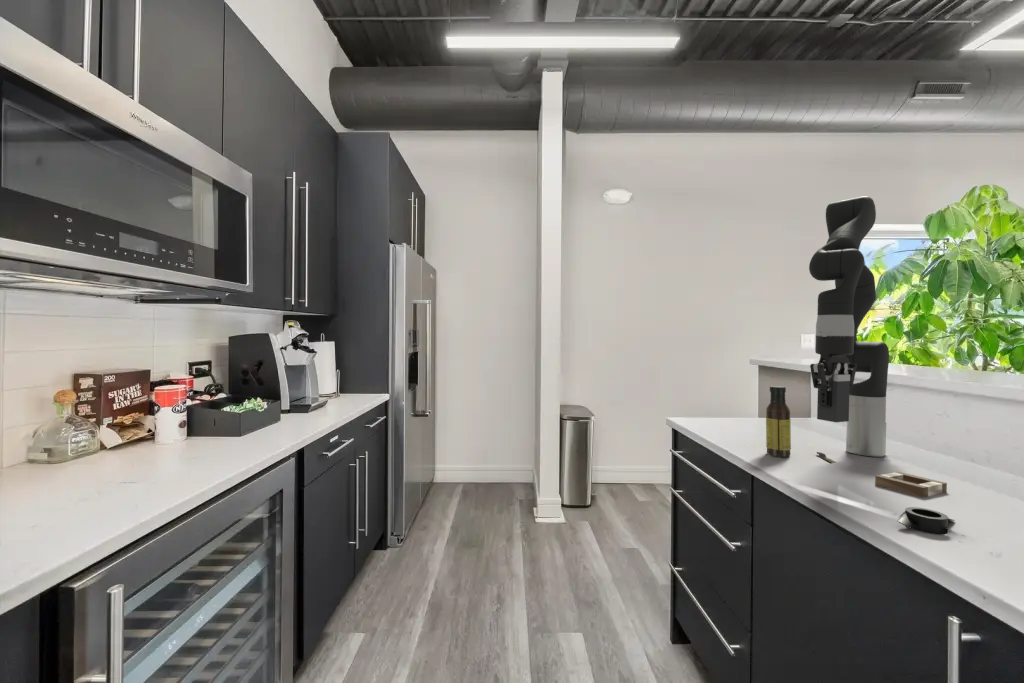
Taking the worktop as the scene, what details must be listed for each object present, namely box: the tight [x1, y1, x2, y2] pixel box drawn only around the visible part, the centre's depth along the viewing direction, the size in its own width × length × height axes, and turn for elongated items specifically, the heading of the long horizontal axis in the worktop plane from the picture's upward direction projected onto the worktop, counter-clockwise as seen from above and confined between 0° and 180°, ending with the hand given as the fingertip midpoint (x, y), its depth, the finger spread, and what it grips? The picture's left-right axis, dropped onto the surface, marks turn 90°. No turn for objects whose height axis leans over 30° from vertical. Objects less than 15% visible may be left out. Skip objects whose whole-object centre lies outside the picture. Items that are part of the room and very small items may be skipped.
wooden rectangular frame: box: [874, 471, 948, 498], centre depth 104 cm, size 9×9×3 cm
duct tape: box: [896, 506, 955, 536], centre depth 84 cm, size 8×10×3 cm
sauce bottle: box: [765, 385, 792, 458], centre depth 136 cm, size 6×6×20 cm
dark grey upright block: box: [816, 374, 850, 423], centre depth 111 cm, size 5×5×11 cm
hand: (832, 406), depth 111 cm, fingers closed on dark grey upright block, 4 cm apart
